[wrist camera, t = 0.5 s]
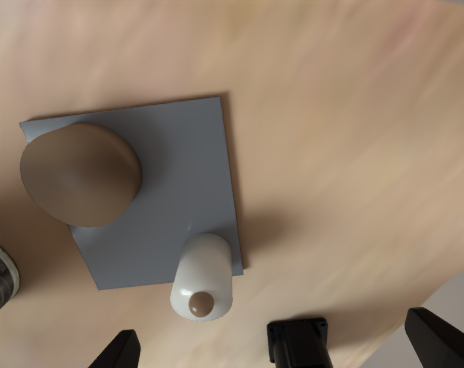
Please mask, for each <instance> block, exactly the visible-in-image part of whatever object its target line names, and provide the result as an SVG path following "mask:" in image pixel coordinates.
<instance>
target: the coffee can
mask: <svg viewBox="0 0 464 368" xmlns="http://www.w3.org/2000/svg"><path fill="white" fill-rule="evenodd" d="M19 281H20V280H19V273H18V270H17V268H16V266H15V264H14V262H13V261H12V259H11V258H10V257H9V256H8V254H7V253H6V252H5V251H4V250H3V249H2V248H0V309H1V308H2V307H3V306H4V305H5V304H6V303H7V302H8V301H9V300H10V299H11V298H13V297H14V295H15V294H16V292H17V291H18V289H19Z"/></svg>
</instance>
